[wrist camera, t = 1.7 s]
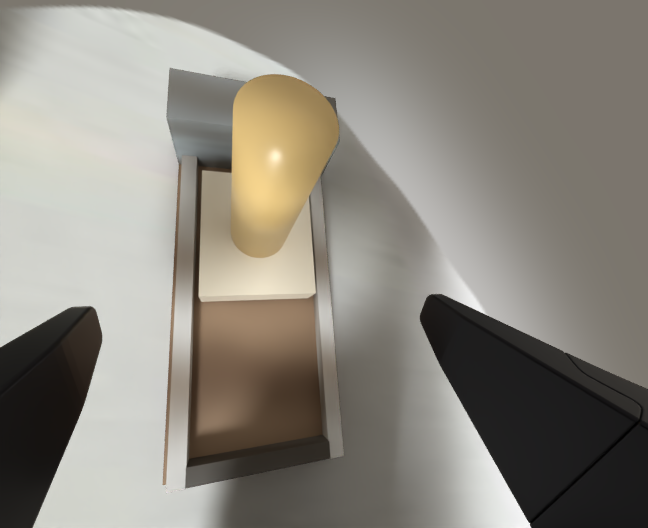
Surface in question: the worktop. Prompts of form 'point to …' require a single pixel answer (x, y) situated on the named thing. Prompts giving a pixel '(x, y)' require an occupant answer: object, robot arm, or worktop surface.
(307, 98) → the rail carriage
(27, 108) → the worktop surface
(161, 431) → the worktop surface
